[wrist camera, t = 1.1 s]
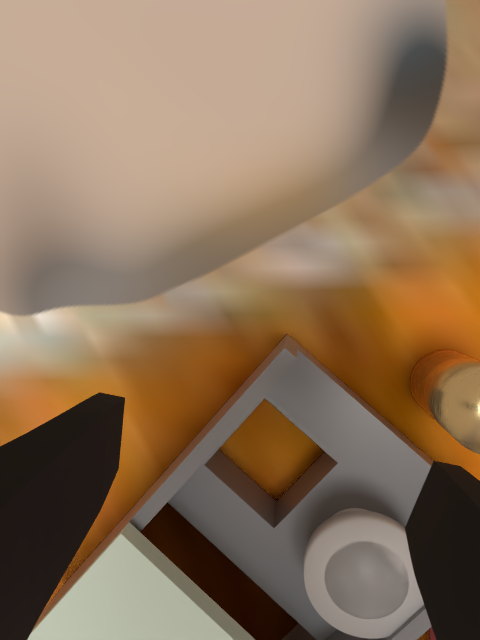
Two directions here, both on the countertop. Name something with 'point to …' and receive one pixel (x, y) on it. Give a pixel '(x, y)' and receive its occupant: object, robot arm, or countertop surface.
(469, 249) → the countertop surface
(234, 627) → the lid
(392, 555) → the housing
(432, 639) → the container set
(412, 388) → the peg
